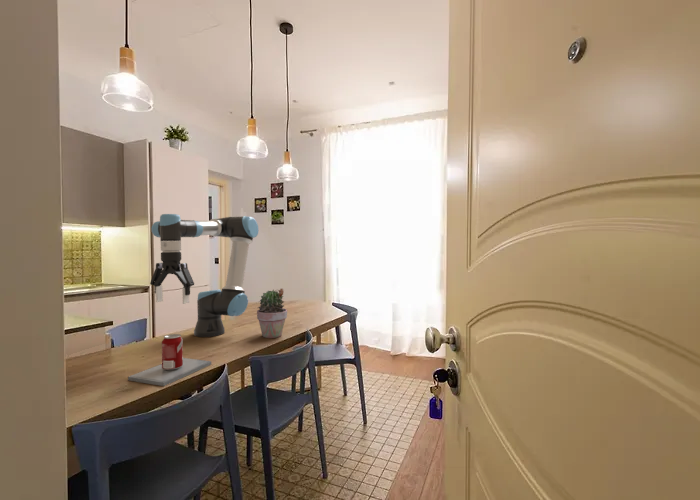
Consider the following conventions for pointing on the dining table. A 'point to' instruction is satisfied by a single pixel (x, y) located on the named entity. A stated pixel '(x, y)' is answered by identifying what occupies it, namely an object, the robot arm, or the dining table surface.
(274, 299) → the potted plant
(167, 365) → the soda can
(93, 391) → the dining table surface
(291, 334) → the dining table surface
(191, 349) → the dining table surface
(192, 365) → the slate board
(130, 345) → the dining table surface
